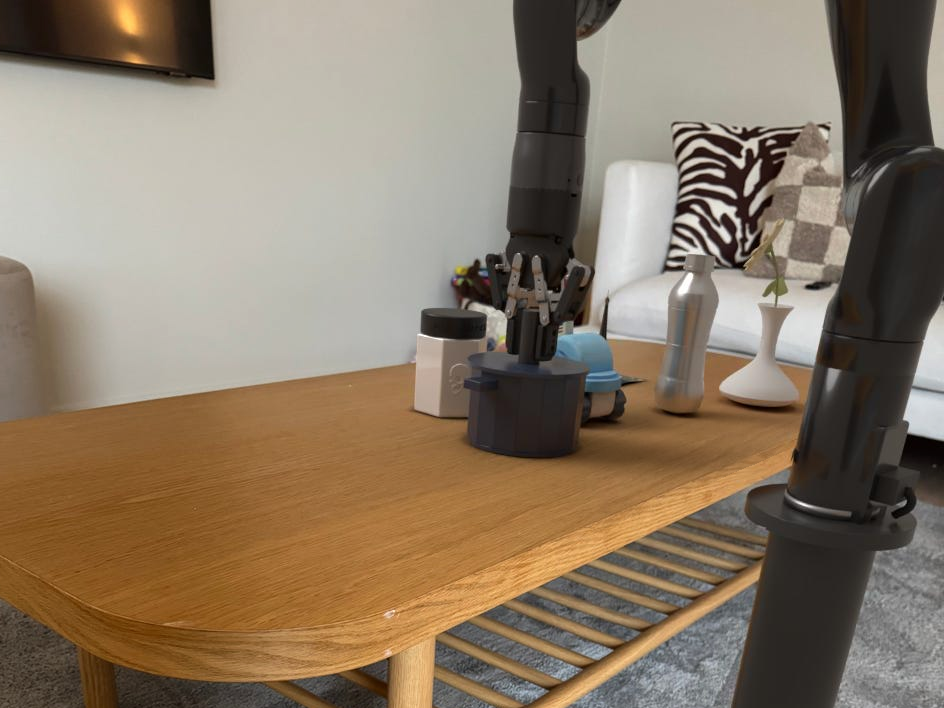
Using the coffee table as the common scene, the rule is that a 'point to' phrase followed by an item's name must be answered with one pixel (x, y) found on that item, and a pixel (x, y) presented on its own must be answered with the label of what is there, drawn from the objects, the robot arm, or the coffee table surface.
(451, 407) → the jar
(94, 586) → the coffee table surface
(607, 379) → the toy excavator
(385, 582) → the coffee table surface
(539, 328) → the robot arm
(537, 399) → the pot
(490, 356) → the lid
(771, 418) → the coffee table surface
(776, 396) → the flower in vase
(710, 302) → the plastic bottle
